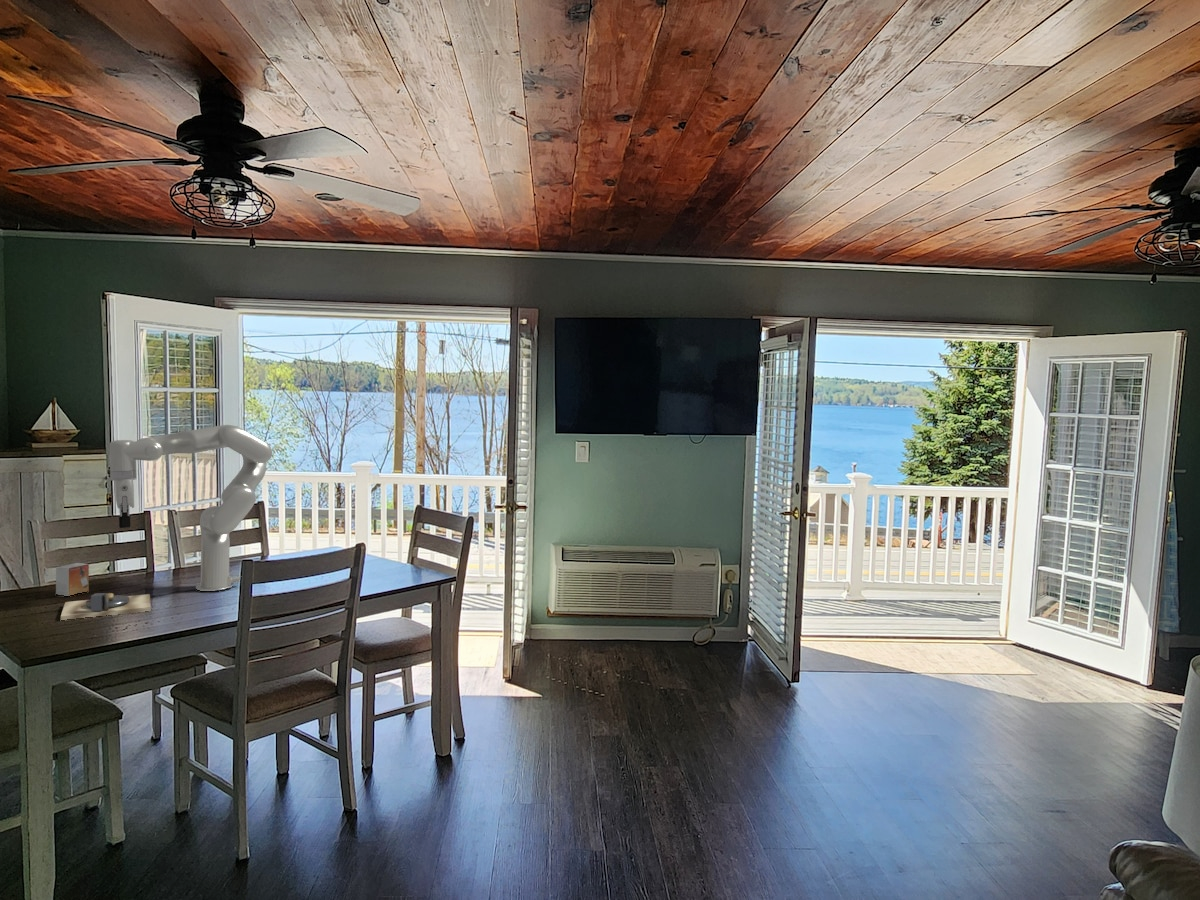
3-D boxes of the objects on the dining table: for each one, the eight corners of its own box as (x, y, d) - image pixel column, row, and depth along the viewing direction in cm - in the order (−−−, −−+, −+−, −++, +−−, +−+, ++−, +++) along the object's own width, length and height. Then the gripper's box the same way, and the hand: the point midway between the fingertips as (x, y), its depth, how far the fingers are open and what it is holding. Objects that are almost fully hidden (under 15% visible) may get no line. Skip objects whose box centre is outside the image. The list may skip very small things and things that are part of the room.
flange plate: (95, 598, 236) (95, 584, 235) (134, 597, 239) (135, 583, 239) (74, 611, 221) (74, 596, 221) (117, 610, 225) (117, 595, 224)
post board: (149, 598, 246) (149, 580, 246) (150, 611, 231) (150, 592, 231) (65, 606, 232) (65, 587, 232) (60, 621, 218) (60, 600, 217)
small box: (68, 597, 242) (68, 568, 242) (55, 596, 244) (55, 566, 243) (89, 592, 250) (89, 563, 250) (76, 590, 251) (76, 562, 251)
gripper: (137, 477, 235) (138, 529, 237) (135, 472, 247) (136, 522, 249) (110, 478, 231) (112, 531, 232) (109, 473, 243) (111, 524, 244)
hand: (124, 527), depth 240 cm, fingers closed
